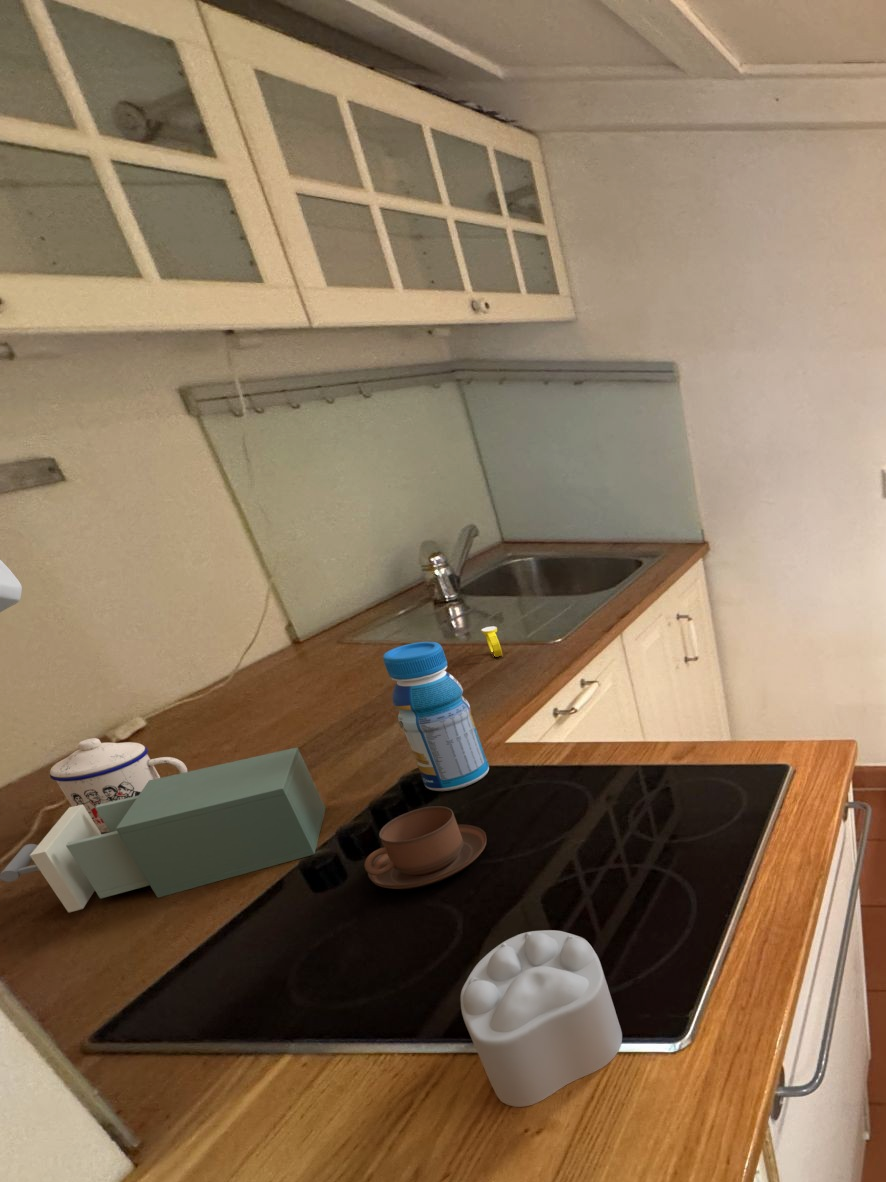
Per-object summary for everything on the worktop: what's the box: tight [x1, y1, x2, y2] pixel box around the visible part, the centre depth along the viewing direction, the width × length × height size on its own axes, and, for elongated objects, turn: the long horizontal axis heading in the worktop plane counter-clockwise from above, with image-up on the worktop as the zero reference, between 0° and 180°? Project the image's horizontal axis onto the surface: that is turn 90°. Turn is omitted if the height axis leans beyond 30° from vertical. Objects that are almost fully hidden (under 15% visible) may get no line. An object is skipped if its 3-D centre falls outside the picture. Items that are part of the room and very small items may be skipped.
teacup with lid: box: [49, 737, 189, 834], centre depth 103 cm, size 12×9×12 cm
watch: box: [480, 625, 503, 657], centre depth 155 cm, size 6×3×6 cm, turn 40°
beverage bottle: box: [382, 641, 490, 792], centre depth 107 cm, size 8×8×20 cm
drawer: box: [0, 795, 150, 914], centre depth 90 cm, size 18×11×8 cm, turn 122°
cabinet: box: [116, 747, 327, 899], centre depth 94 cm, size 15×13×10 cm
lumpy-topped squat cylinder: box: [459, 929, 623, 1108], centre depth 66 cm, size 10×13×9 cm
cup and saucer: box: [364, 805, 487, 890], centre depth 90 cm, size 12×12×6 cm
